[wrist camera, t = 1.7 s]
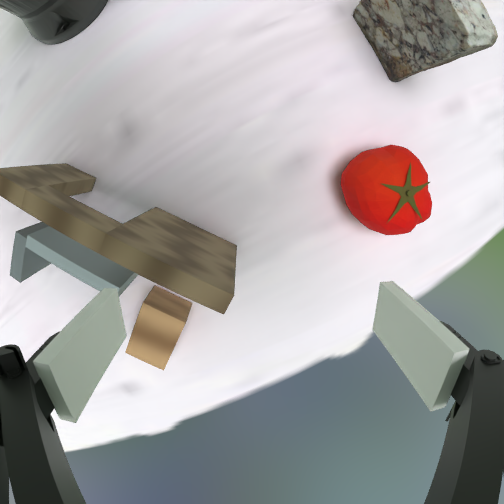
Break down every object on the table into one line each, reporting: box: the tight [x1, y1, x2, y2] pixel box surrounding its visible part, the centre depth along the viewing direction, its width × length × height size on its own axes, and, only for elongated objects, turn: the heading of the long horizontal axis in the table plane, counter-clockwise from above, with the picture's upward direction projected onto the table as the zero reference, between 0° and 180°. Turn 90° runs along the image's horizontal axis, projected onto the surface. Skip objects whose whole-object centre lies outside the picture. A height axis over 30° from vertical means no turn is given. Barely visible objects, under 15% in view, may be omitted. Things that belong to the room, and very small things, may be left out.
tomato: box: [341, 145, 432, 235], centre depth 33 cm, size 11×13×10 cm
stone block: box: [353, 0, 498, 82], centre depth 23 cm, size 13×7×20 cm, turn 30°
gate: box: [10, 222, 138, 296], centre depth 33 cm, size 15×6×12 cm, turn 63°
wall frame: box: [0, 164, 237, 314], centre depth 30 cm, size 28×2×16 cm, turn 63°
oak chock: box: [125, 286, 192, 370], centre depth 40 cm, size 9×6×6 cm, turn 153°
